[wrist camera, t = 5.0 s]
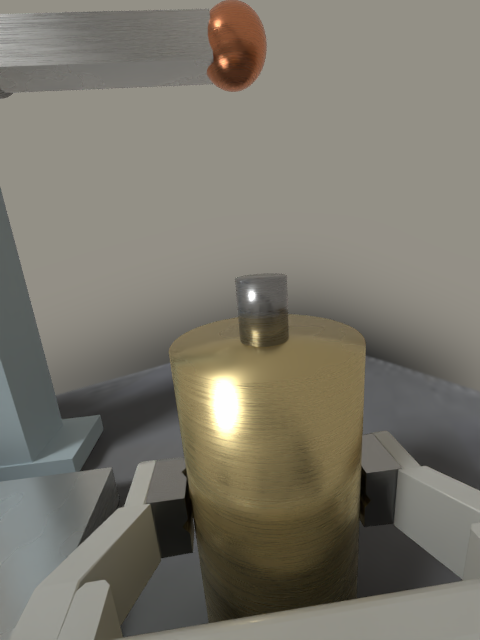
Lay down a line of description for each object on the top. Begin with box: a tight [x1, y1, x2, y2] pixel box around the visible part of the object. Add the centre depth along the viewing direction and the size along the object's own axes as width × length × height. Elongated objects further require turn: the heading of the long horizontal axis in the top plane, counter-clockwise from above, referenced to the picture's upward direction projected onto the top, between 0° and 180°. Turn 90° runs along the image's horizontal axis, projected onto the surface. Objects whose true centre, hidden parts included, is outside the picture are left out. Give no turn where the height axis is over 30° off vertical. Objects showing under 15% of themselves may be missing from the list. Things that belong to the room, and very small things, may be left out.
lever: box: [0, 0, 267, 98], centre depth 14 cm, size 14×3×3 cm, turn 95°
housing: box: [169, 274, 366, 623], centre depth 8 cm, size 5×5×12 cm
